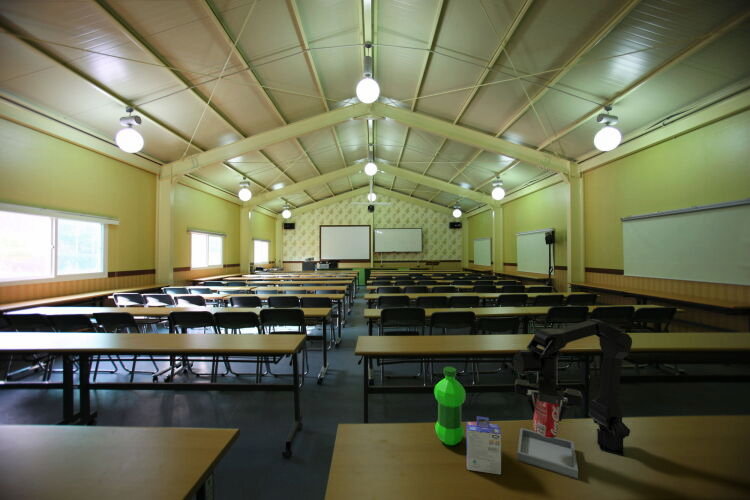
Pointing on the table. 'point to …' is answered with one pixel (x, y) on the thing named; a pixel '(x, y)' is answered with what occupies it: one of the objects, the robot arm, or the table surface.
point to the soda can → (546, 418)
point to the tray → (547, 453)
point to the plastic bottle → (449, 408)
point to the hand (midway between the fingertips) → (546, 417)
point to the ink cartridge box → (483, 446)
